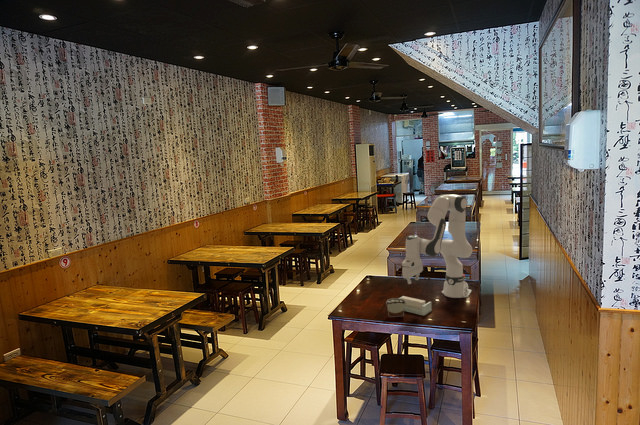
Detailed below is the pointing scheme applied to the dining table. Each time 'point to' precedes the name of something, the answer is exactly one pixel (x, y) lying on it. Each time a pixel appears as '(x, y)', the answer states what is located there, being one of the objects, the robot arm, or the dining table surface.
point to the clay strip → (414, 302)
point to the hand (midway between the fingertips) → (413, 281)
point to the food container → (395, 307)
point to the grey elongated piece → (424, 311)
